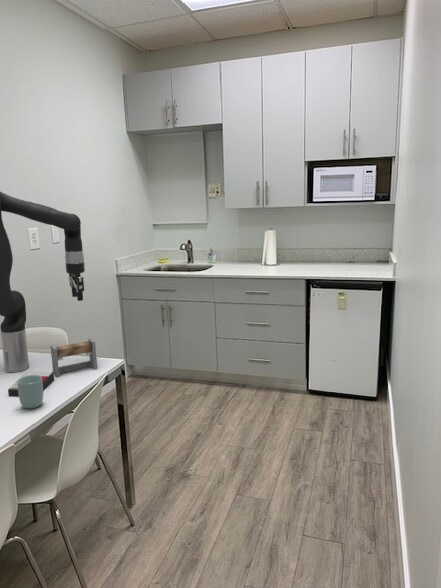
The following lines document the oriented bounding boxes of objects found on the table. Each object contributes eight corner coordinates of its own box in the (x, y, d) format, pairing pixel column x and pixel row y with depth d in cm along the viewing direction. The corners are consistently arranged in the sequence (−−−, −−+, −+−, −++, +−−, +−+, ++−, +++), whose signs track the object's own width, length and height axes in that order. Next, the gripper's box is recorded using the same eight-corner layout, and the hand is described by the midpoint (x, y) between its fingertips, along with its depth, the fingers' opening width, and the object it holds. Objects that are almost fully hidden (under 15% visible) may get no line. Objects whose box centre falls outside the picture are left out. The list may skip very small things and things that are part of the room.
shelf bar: (58, 358, 176) (57, 349, 176) (55, 355, 180) (55, 347, 179) (91, 351, 184) (90, 343, 183) (88, 349, 187) (87, 341, 186)
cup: (48, 401, 156) (45, 375, 154) (37, 411, 148) (34, 384, 146) (27, 400, 157) (24, 374, 154) (15, 410, 149) (12, 383, 147)
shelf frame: (56, 377, 176) (53, 349, 174) (53, 372, 181) (50, 345, 179) (97, 368, 185) (95, 341, 183) (92, 364, 190) (90, 338, 187)
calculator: (6, 388, 159) (26, 370, 174) (8, 398, 160) (27, 379, 175) (36, 388, 159) (53, 370, 173) (37, 399, 160) (54, 380, 174)
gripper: (61, 260, 190) (64, 296, 193) (70, 264, 178) (73, 303, 182) (79, 258, 194) (81, 294, 197) (88, 262, 182) (91, 300, 185)
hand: (77, 298), depth 189 cm, fingers open, 8 cm apart
